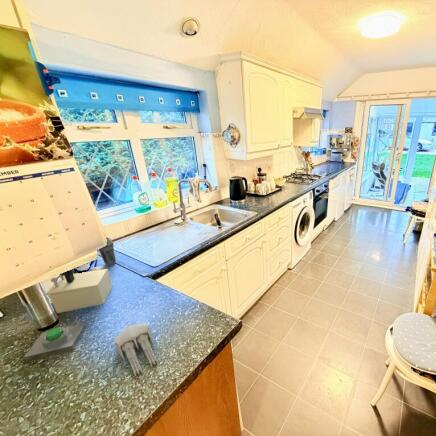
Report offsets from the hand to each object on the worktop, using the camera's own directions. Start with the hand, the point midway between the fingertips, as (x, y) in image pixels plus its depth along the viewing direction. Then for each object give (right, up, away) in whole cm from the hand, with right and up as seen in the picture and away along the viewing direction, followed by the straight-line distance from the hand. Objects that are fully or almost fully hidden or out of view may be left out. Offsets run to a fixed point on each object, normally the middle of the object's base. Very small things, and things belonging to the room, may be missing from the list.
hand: (71, 280), depth 97 cm
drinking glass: (-16, -1, +24) cm, 29 cm away
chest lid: (+2, -1, +1) cm, 3 cm away
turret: (+40, -19, -19) cm, 48 cm away
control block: (+11, -17, -16) cm, 26 cm away
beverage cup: (-7, +1, +31) cm, 31 cm away
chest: (+3, -9, +5) cm, 11 cm away
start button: (+11, -14, -18) cm, 25 cm away
